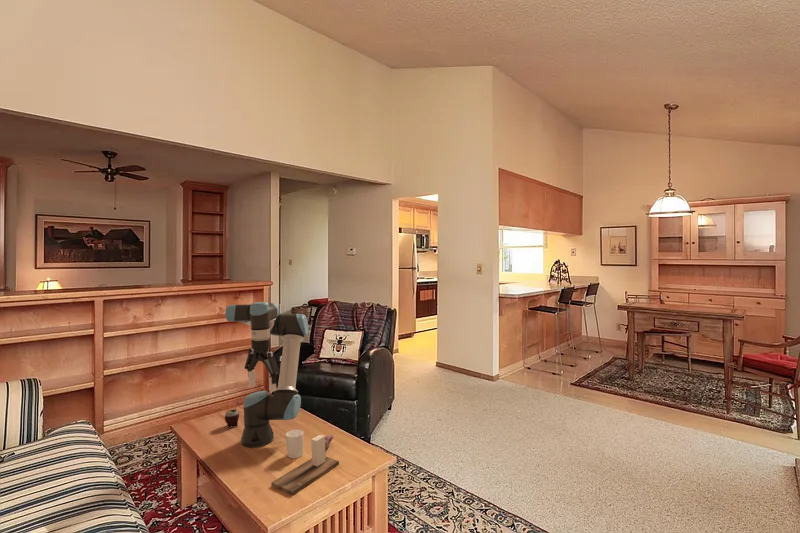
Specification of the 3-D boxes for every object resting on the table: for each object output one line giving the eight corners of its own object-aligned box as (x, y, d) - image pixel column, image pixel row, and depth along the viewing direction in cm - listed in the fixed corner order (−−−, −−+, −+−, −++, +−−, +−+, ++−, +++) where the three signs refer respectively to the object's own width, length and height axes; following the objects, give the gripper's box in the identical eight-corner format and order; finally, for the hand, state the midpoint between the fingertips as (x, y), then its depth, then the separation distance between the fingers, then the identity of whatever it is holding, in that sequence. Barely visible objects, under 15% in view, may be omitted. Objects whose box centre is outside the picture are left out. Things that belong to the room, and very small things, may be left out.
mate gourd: (222, 428, 213) (221, 400, 212) (231, 422, 221) (230, 395, 220) (234, 429, 211) (233, 401, 211) (243, 423, 219) (242, 395, 218)
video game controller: (323, 456, 184) (329, 443, 183) (314, 452, 185) (320, 439, 184) (330, 446, 194) (336, 434, 193) (322, 441, 194) (328, 429, 193)
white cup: (307, 451, 186) (306, 430, 185) (297, 460, 178) (297, 438, 178) (292, 449, 188) (292, 428, 188) (282, 457, 181) (282, 435, 181)
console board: (271, 486, 159) (271, 482, 159) (319, 457, 181) (318, 453, 181) (292, 495, 152) (292, 491, 152) (339, 464, 174) (338, 460, 174)
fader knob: (312, 464, 171) (311, 439, 171) (320, 459, 175) (319, 434, 175) (317, 466, 169) (316, 440, 169) (325, 461, 173) (324, 436, 173)
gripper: (234, 337, 174) (236, 386, 174) (273, 343, 160) (274, 396, 161) (249, 334, 180) (251, 381, 181) (287, 340, 166) (289, 390, 167)
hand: (262, 388), depth 171 cm, fingers open, 13 cm apart
